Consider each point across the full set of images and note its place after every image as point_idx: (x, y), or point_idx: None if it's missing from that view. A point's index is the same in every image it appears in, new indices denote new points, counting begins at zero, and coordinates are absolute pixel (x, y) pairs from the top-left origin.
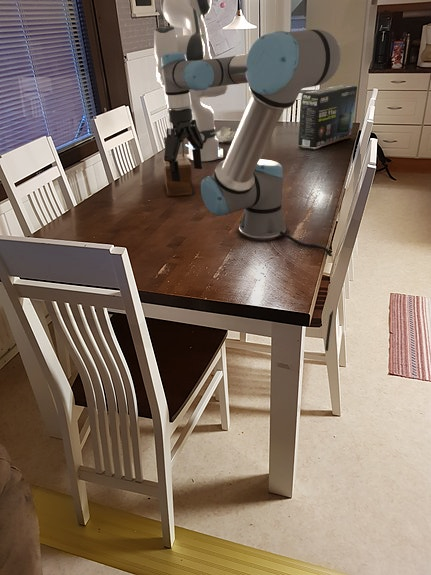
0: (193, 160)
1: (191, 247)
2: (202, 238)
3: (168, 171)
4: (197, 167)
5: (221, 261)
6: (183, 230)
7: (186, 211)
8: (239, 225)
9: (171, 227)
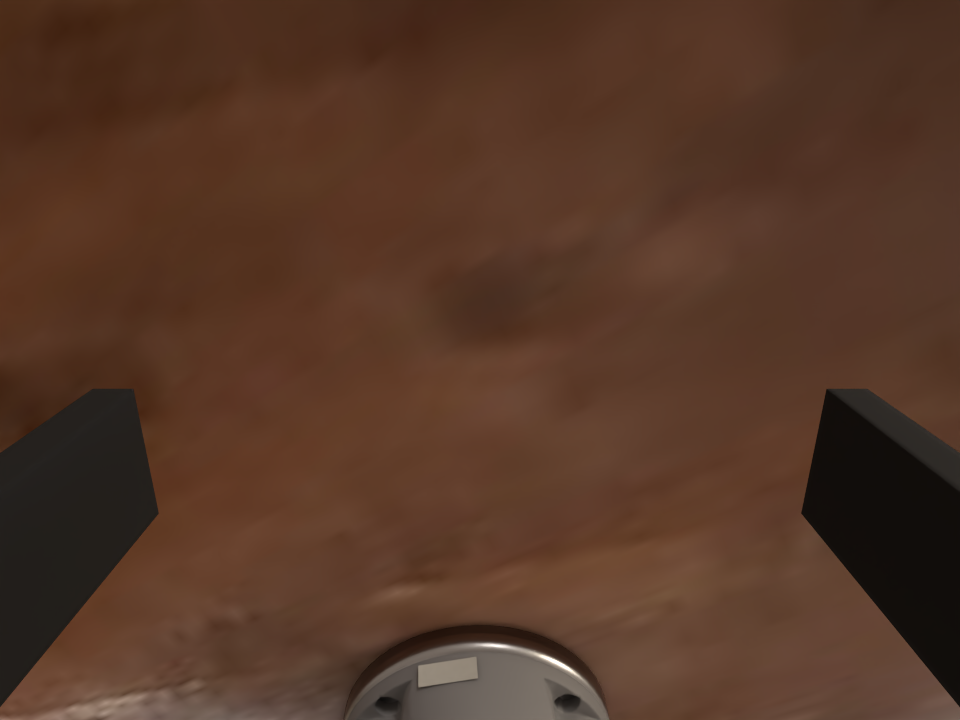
0: (925, 469)
1: None
2: (216, 506)
3: None
4: (826, 467)
5: (55, 702)
6: (244, 333)
7: (596, 129)
8: (427, 659)
9: (235, 215)
